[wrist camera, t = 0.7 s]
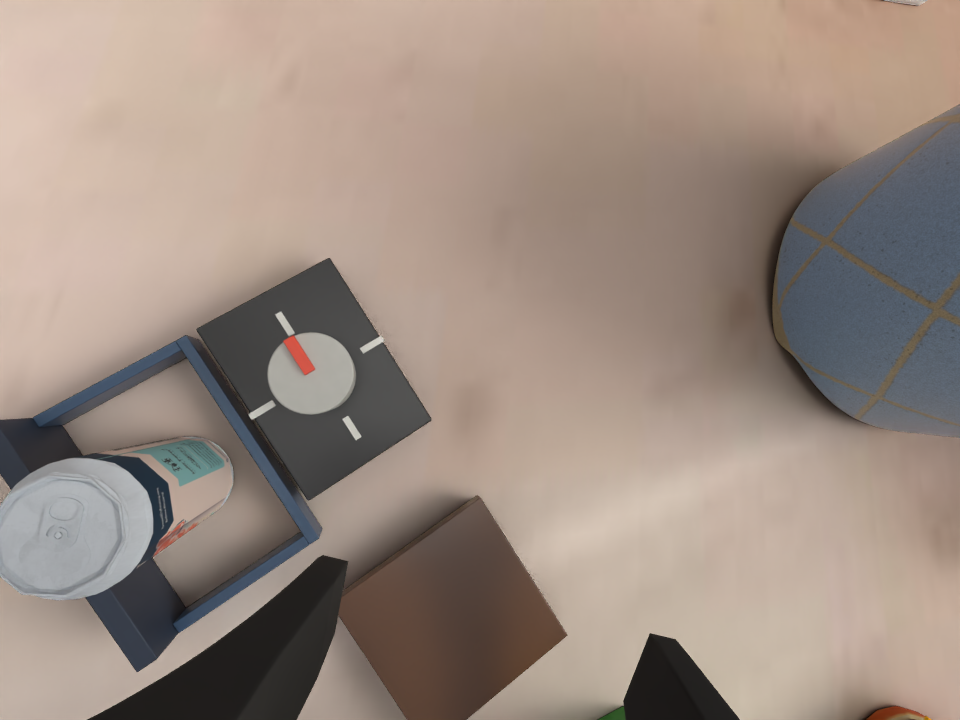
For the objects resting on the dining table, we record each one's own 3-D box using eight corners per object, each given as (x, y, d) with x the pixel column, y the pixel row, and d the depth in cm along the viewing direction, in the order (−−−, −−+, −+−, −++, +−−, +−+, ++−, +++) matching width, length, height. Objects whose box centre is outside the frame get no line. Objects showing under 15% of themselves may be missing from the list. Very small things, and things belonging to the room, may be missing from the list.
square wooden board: (424, 728, 29) (428, 752, 27) (333, 590, 29) (331, 604, 27) (555, 620, 31) (567, 635, 30) (473, 491, 31) (480, 497, 29)
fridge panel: (428, 417, 31) (434, 419, 28) (311, 493, 29) (306, 503, 26) (334, 267, 30) (330, 255, 28) (208, 335, 28) (192, 329, 26)
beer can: (134, 517, 27) (-49, 608, 15) (152, 430, 27) (-12, 453, 16) (227, 524, 28) (123, 615, 16) (243, 440, 28) (153, 469, 17)
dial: (369, 387, 28) (369, 385, 24) (306, 426, 27) (295, 431, 23) (331, 327, 27) (324, 316, 24) (265, 364, 27) (248, 359, 23)
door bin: (175, 628, 27) (136, 673, 22) (37, 426, 26) (-30, 432, 22) (322, 528, 29) (314, 552, 24) (198, 339, 28) (167, 328, 24)
